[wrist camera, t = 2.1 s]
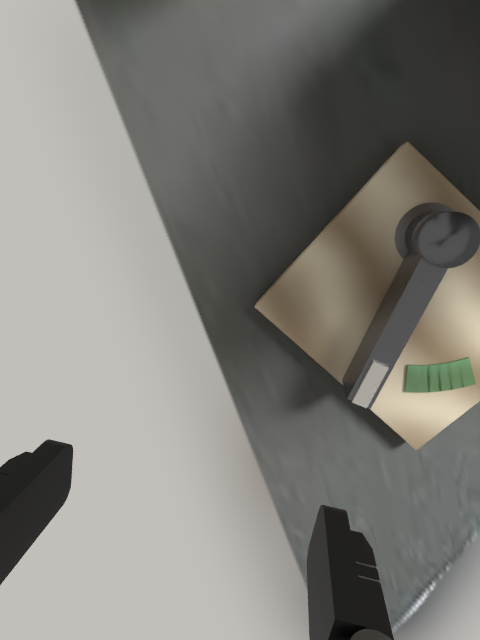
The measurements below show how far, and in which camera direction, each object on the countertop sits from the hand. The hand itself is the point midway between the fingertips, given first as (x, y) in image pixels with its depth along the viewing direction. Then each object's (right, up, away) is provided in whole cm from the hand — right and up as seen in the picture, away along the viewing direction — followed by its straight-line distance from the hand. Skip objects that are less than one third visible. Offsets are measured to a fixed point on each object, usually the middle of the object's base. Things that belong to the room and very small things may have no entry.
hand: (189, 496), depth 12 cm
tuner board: (+13, +7, +16) cm, 22 cm away
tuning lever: (+12, +7, +14) cm, 19 cm away
